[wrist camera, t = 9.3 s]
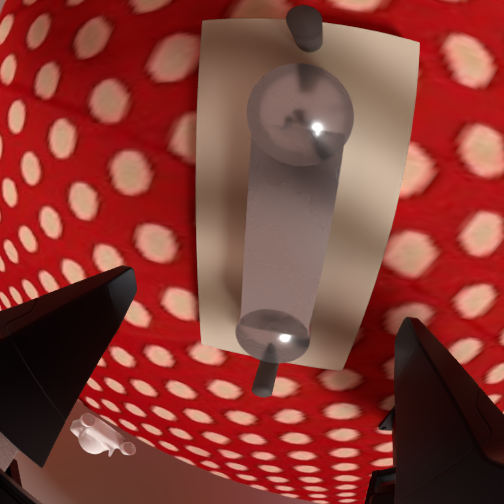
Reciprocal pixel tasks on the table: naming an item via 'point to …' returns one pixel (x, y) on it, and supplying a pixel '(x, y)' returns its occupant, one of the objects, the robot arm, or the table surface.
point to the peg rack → (350, 180)
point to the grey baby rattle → (289, 204)
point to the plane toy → (99, 436)
